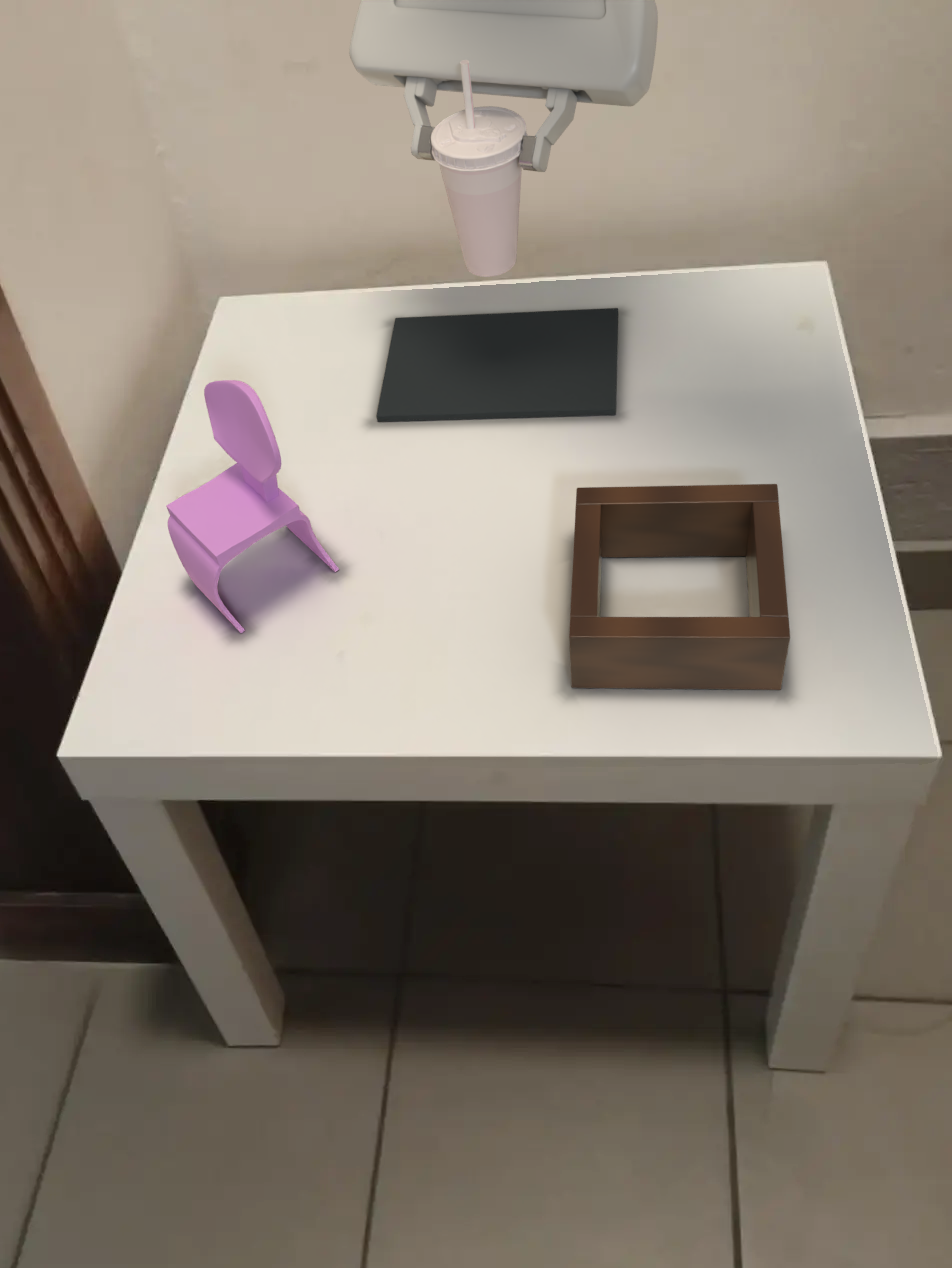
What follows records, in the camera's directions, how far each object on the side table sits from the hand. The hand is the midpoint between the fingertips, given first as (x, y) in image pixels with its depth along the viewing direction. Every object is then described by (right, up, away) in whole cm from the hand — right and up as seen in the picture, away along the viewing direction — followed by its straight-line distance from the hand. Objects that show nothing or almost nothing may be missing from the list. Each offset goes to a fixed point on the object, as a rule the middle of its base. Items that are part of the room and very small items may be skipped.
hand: (477, 163), depth 81 cm
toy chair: (-15, -27, +4) cm, 31 cm away
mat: (+2, -9, +14) cm, 17 cm away
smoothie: (+1, -4, +7) cm, 8 cm away
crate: (+12, -30, -2) cm, 33 cm away
